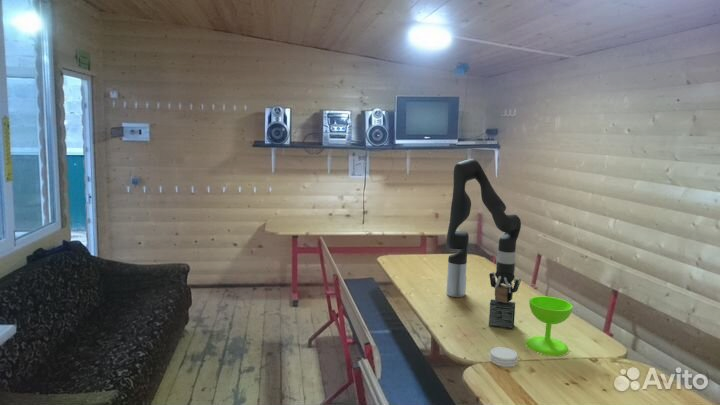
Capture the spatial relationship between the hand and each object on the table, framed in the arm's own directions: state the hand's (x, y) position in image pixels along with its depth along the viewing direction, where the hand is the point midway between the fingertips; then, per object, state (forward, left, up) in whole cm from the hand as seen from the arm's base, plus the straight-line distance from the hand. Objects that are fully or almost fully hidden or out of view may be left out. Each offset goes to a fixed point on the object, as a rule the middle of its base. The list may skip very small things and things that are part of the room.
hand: (503, 298), depth 215 cm
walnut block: (0, 0, -1) cm, 1 cm away
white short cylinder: (+30, +17, -13) cm, 37 cm away
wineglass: (+6, +23, -12) cm, 27 cm away
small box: (0, 0, -12) cm, 12 cm away
